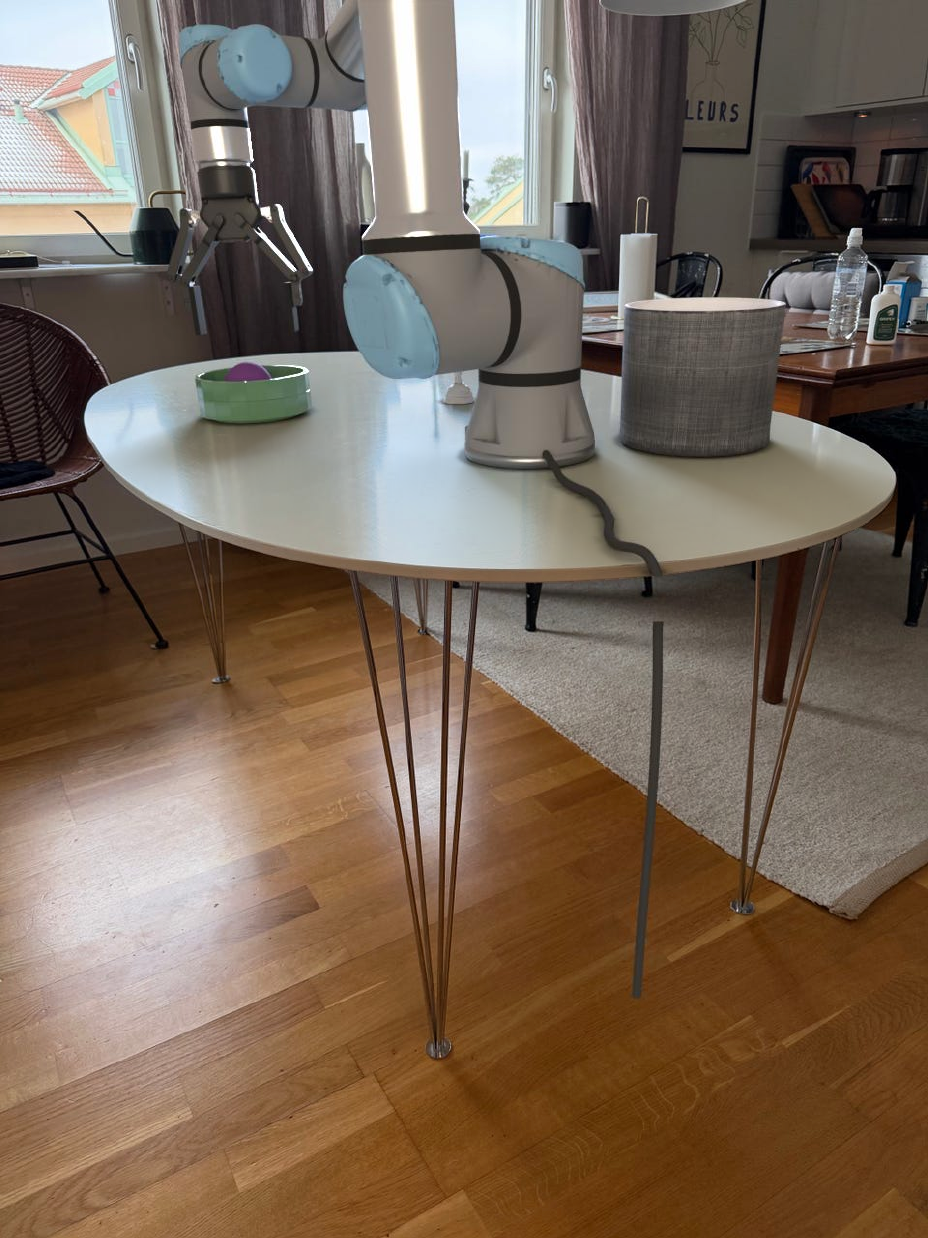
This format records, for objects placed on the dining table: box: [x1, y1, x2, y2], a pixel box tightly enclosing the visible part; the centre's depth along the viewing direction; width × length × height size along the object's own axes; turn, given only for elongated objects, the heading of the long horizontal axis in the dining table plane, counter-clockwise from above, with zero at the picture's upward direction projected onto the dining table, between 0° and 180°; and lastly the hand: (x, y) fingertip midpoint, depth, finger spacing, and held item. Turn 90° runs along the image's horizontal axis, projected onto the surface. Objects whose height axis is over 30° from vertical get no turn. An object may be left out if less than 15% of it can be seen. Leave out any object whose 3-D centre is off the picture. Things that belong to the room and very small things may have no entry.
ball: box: [225, 361, 271, 382], centre depth 127 cm, size 7×7×7 cm
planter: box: [618, 297, 787, 458], centre depth 101 cm, size 18×18×16 cm
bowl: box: [194, 364, 313, 424], centre depth 127 cm, size 16×16×6 cm
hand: (247, 332), depth 123 cm, fingers open, 13 cm apart
